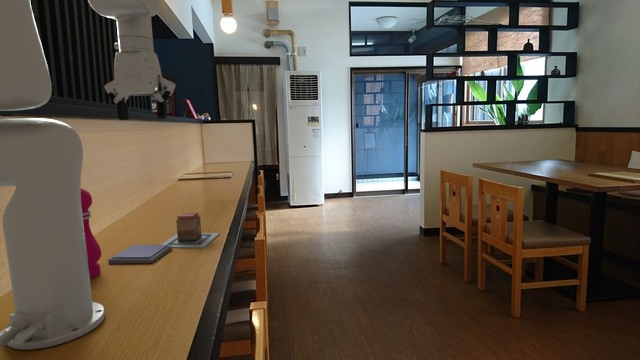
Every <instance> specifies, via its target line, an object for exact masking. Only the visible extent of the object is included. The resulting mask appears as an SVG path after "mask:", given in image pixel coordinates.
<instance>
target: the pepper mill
mask: <svg viewBox="0 0 640 360" xmlns="http://www.w3.org/2000/svg"><path fill="white" fill-rule="evenodd" d="M80 191H81V207H82V217H83V225H84V233H85V242H86V251H87V259H88V268H89V277H90V280H92V279H94V278H96V277H98V276H99V275H101V271H102V270H101V264H100V263H98V262H99V261H100V259H101V258H102V249H101V247H100V244H99V242H98V241H97V240H96V238H95V236H94V234H93V233H92V230H91V228H90V218H91V217H92V215H91V210H89V209H90V208H91V206H92V204H93V197H92V195H91V193H90V192H89V191H88V190H86V189H84V188H81V187H80Z"/></svg>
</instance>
